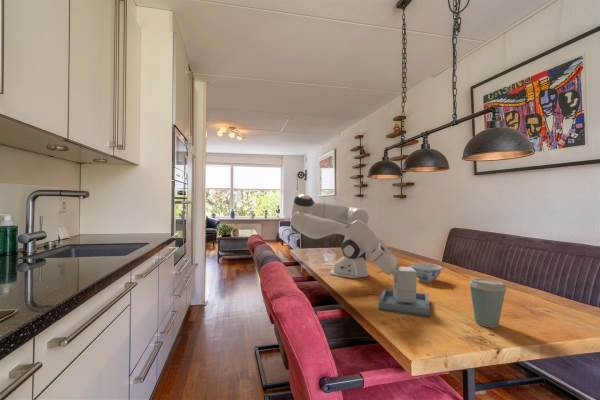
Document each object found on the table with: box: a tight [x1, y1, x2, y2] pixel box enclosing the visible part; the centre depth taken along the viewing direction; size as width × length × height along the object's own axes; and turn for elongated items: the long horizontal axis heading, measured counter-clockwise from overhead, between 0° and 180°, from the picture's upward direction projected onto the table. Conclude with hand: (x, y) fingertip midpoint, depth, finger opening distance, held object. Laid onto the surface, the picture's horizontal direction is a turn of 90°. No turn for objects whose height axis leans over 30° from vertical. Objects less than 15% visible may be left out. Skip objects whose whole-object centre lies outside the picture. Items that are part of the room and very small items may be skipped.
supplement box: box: [392, 266, 418, 303], centre depth 113 cm, size 7×7×13 cm
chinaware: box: [410, 262, 443, 283], centre depth 148 cm, size 15×15×8 cm
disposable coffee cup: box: [468, 277, 507, 329], centre depth 95 cm, size 11×11×15 cm
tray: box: [378, 288, 431, 318], centre depth 113 cm, size 18×18×3 cm
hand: (402, 276), depth 113 cm, fingers closed on supplement box, 8 cm apart
